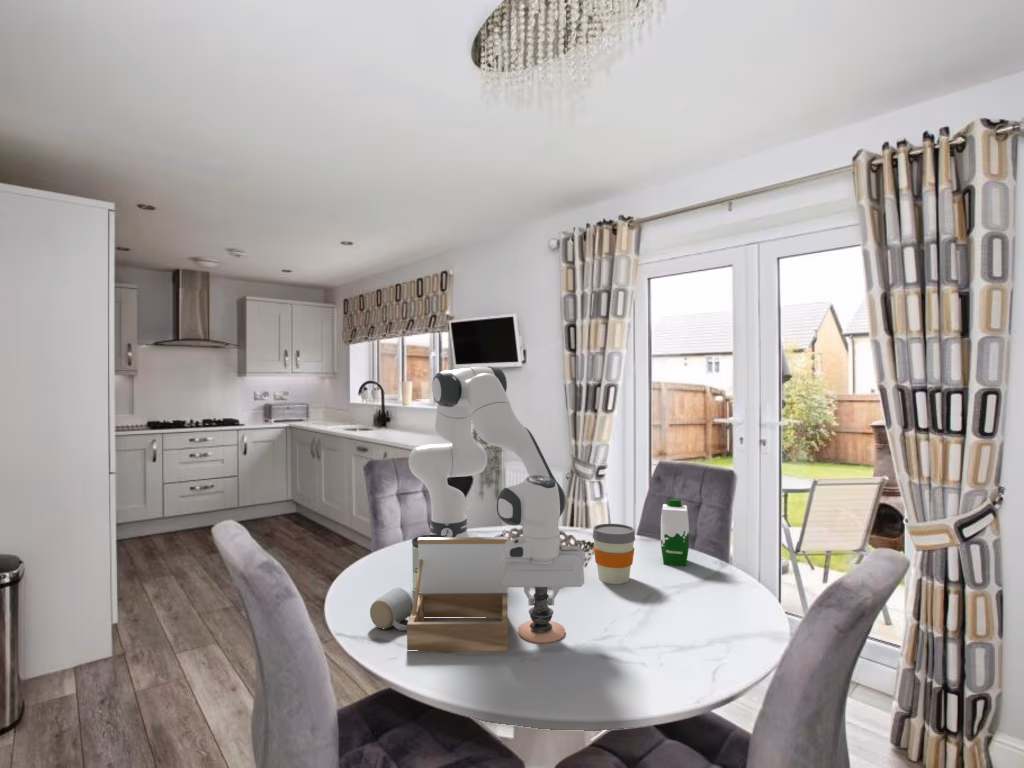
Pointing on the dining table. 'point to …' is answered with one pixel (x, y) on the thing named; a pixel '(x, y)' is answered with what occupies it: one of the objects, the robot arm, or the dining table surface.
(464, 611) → the cold frame
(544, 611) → the dark grey turned piece
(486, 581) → the propped lid
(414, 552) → the coffee can
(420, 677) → the dining table surface
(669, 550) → the milk carton
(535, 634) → the glossy peach disc
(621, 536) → the reusable coffee cup
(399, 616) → the ceramic mug
